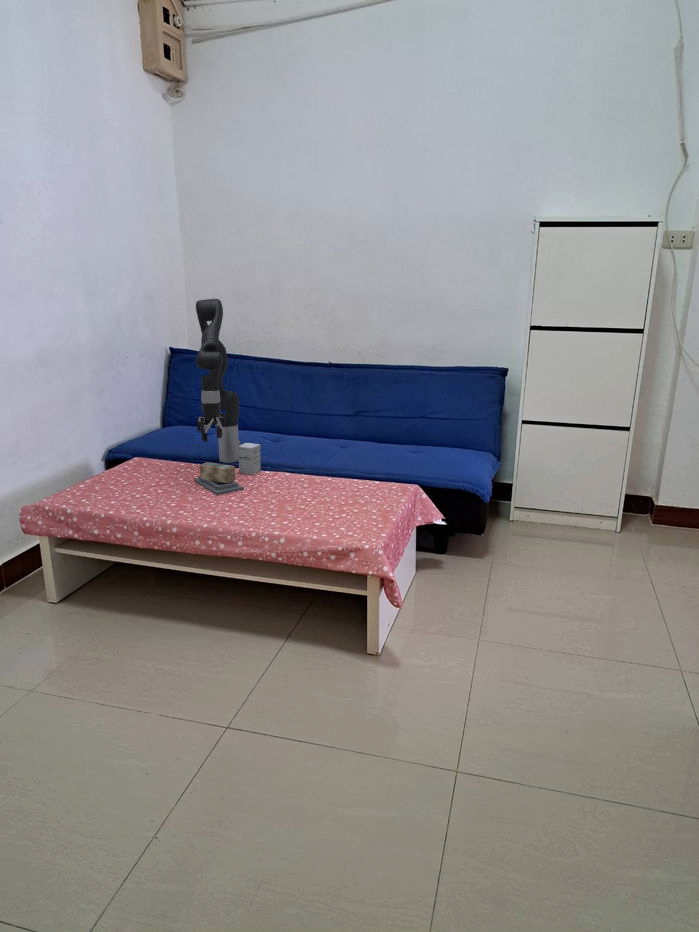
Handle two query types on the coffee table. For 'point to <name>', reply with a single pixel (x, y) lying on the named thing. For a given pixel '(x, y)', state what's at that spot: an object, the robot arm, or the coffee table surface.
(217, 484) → the grey rectangular framed panel
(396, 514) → the coffee table surface
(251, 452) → the supplement box
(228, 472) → the oak frame
